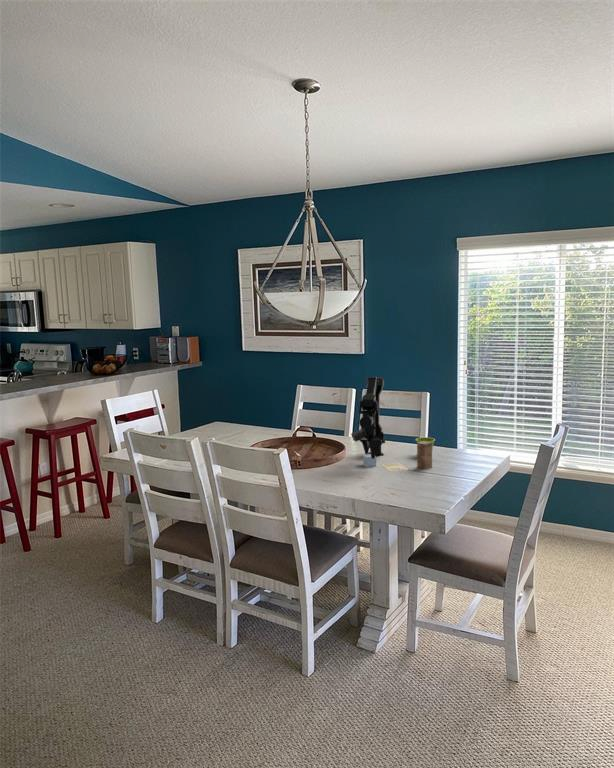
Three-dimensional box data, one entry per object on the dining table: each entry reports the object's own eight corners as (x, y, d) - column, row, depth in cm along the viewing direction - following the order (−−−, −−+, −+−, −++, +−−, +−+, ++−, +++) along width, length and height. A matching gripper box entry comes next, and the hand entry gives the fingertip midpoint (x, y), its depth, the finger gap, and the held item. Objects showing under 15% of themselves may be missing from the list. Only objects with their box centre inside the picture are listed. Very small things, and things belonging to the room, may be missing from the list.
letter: (381, 465, 283) (381, 464, 283) (398, 463, 285) (398, 462, 285) (390, 471, 272) (390, 471, 272) (408, 469, 274) (408, 469, 274)
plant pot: (426, 459, 290) (426, 442, 289) (412, 456, 297) (411, 439, 296) (438, 456, 296) (438, 439, 295) (424, 452, 303) (424, 436, 302)
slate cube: (363, 465, 285) (362, 454, 284) (372, 464, 286) (372, 454, 285) (366, 467, 280) (366, 457, 279) (376, 466, 281) (376, 456, 280)
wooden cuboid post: (417, 467, 277) (417, 442, 275) (424, 465, 280) (424, 441, 278) (425, 469, 273) (424, 444, 271) (432, 467, 276) (431, 442, 274)
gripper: (346, 421, 287) (347, 453, 290) (359, 429, 269) (359, 462, 272) (368, 420, 290) (369, 451, 292) (382, 427, 272) (382, 460, 274)
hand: (369, 456), depth 282 cm, fingers open, 9 cm apart
